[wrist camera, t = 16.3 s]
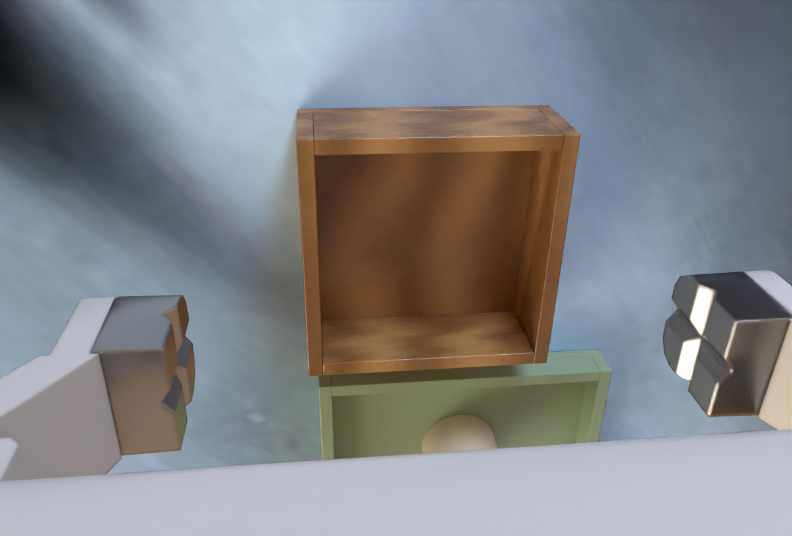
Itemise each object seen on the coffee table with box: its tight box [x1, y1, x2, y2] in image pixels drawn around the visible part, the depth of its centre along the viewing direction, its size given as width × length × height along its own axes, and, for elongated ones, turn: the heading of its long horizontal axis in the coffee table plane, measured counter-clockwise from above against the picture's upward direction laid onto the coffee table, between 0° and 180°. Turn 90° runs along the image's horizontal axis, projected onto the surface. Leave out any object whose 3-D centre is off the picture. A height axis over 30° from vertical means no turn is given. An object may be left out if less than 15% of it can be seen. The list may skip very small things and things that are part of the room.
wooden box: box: [296, 105, 580, 376], centre depth 39 cm, size 14×14×5 cm
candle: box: [422, 415, 498, 453], centre depth 45 cm, size 5×5×8 cm
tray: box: [319, 349, 612, 460], centre depth 48 cm, size 19×14×2 cm
